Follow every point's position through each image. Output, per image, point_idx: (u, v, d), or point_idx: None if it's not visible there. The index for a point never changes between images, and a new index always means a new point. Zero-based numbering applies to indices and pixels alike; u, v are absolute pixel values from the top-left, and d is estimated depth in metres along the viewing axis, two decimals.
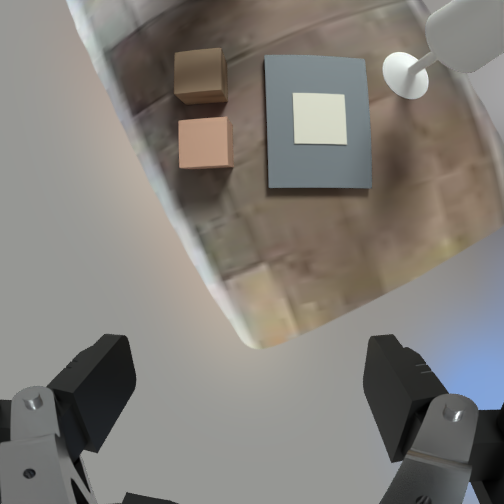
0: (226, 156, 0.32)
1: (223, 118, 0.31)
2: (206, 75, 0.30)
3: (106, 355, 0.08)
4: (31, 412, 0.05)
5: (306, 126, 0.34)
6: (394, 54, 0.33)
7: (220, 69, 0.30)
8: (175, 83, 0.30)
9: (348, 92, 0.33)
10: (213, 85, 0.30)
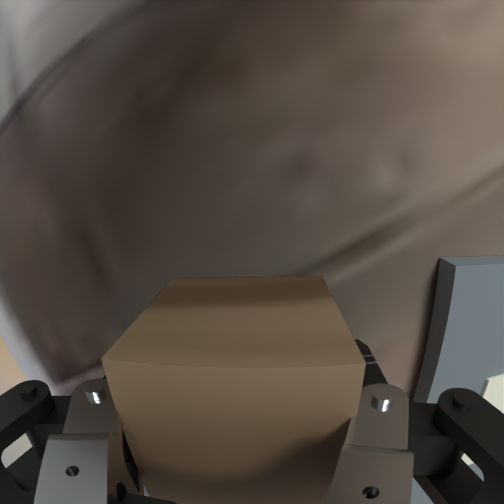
0: None
1: None
2: (279, 475, 0.06)
3: None
4: (98, 405, 0.06)
5: None
6: None
7: None
8: (145, 477, 0.06)
9: None
10: (305, 501, 0.06)
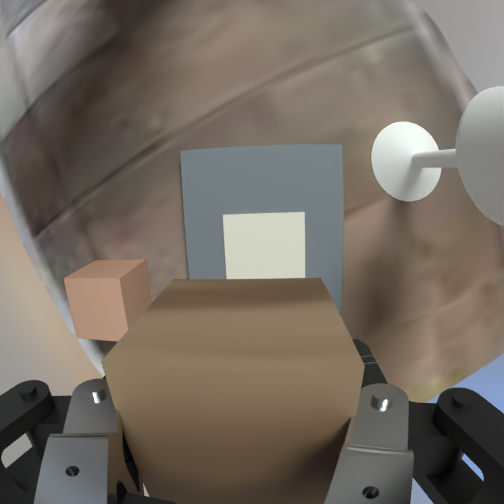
0: None
1: (115, 280, 0.21)
2: (279, 476, 0.06)
3: None
4: (98, 405, 0.06)
5: (244, 267, 0.25)
6: (392, 127, 0.23)
7: None
8: (145, 478, 0.06)
9: (311, 207, 0.24)
10: (305, 502, 0.06)
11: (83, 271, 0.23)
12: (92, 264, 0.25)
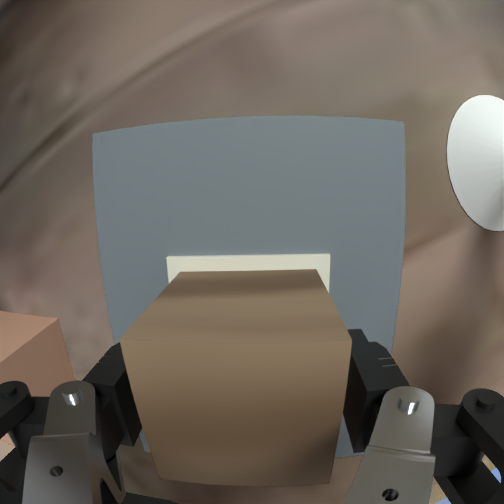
0: None
1: None
2: (278, 448, 0.07)
3: None
4: (73, 407, 0.06)
5: None
6: (476, 101, 0.11)
7: (336, 428, 0.07)
8: (155, 454, 0.07)
9: (344, 243, 0.12)
10: (303, 475, 0.07)
11: None
12: None
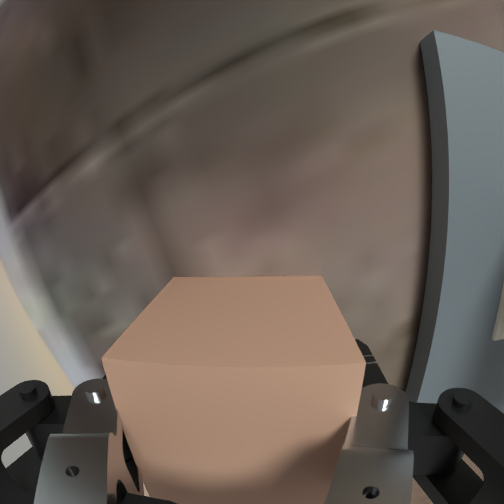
0: None
1: (347, 371, 0.05)
2: None
3: None
4: (98, 405, 0.06)
5: None
6: None
7: None
8: None
9: None
10: None
11: (164, 322, 0.07)
12: (174, 292, 0.09)
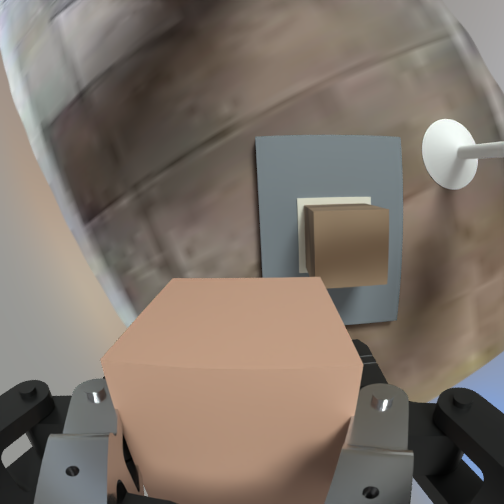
0: None
1: (345, 373, 0.05)
2: (367, 259, 0.20)
3: None
4: (98, 405, 0.06)
5: None
6: (438, 123, 0.24)
7: (387, 249, 0.20)
8: (317, 270, 0.21)
9: (376, 192, 0.25)
10: (376, 277, 0.20)
11: (163, 324, 0.07)
12: (173, 293, 0.09)
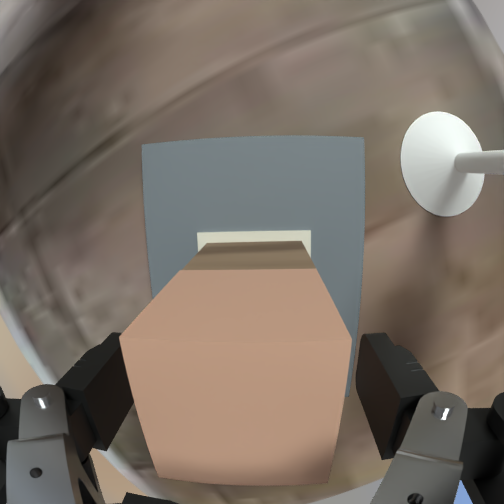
0: (326, 465, 0.07)
1: (335, 347, 0.06)
2: None
3: (115, 353, 0.09)
4: (41, 410, 0.05)
5: None
6: (426, 117, 0.16)
7: None
8: None
9: (321, 223, 0.17)
10: None
11: (174, 308, 0.08)
12: (181, 282, 0.10)
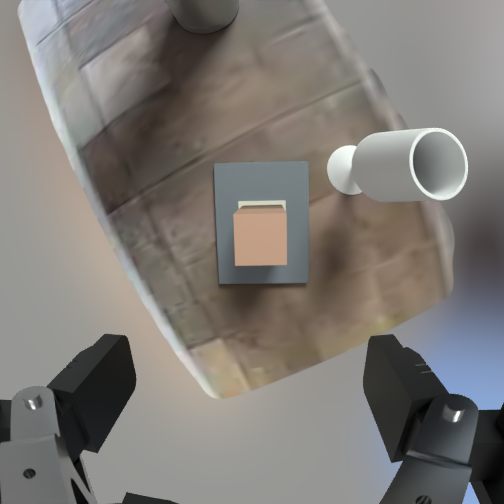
0: (285, 256, 0.31)
1: (283, 215, 0.31)
2: None
3: (106, 355, 0.08)
4: (31, 412, 0.05)
5: None
6: (340, 149, 0.40)
7: None
8: None
9: (289, 197, 0.41)
10: None
11: (243, 212, 0.33)
12: (241, 210, 0.35)
